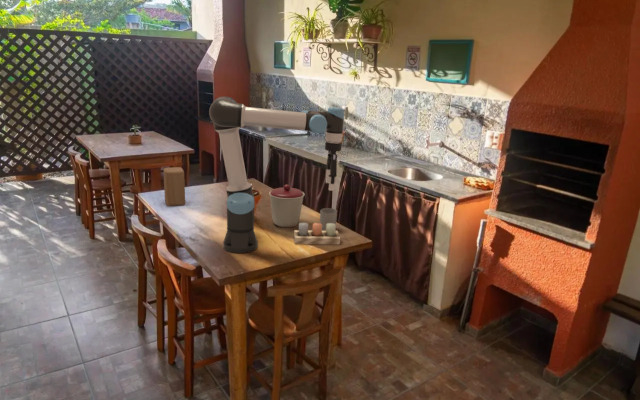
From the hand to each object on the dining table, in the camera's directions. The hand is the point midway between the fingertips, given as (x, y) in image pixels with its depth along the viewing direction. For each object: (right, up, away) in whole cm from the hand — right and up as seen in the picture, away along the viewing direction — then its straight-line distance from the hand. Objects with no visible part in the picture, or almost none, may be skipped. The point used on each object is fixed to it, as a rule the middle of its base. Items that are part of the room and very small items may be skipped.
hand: (329, 186), depth 213 cm
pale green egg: (0, -23, +1) cm, 23 cm away
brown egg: (-6, -23, 0) cm, 23 cm away
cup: (-1, -21, +16) cm, 27 cm away
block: (-87, -9, +43) cm, 97 cm away
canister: (-22, -19, +20) cm, 36 cm away
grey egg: (-13, -22, -1) cm, 26 cm away
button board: (-6, -25, +1) cm, 26 cm away
